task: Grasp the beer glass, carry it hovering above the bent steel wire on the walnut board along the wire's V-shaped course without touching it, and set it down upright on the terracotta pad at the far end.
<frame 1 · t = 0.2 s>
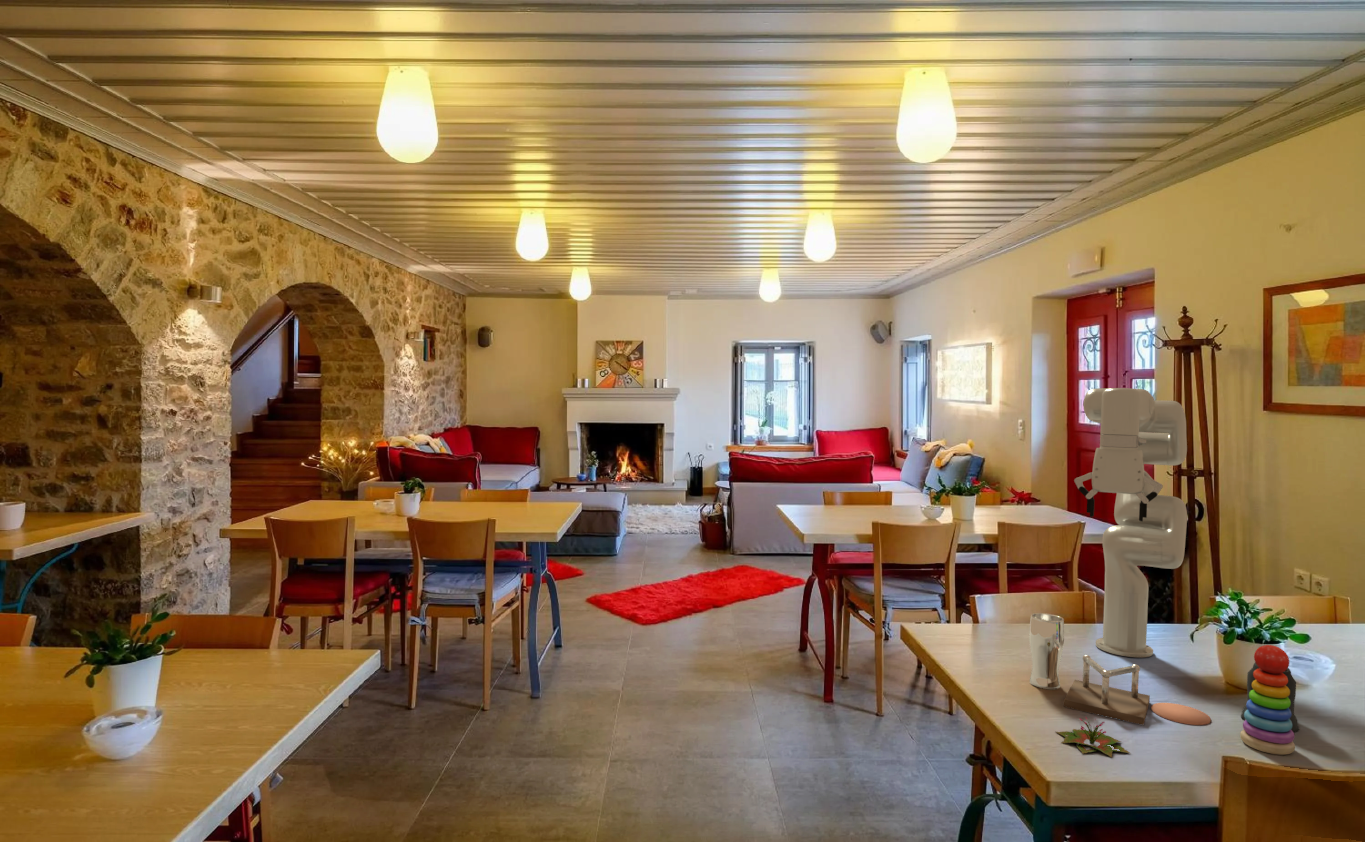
hand: (1115, 518, 170), 36 cm above the table, tool pointing down, fingers open, 9 cm apart
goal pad: (1180, 714, 151), on the table
mug: (1269, 721, 149), on the table
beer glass: (1044, 685, 166), on the table
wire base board: (1107, 703, 156), on the table
bent wire: (1107, 681, 155), on the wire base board, point 5 cm above the table
stacking toy: (1266, 747, 138), on the table
lily flower: (1091, 746, 137), on the table
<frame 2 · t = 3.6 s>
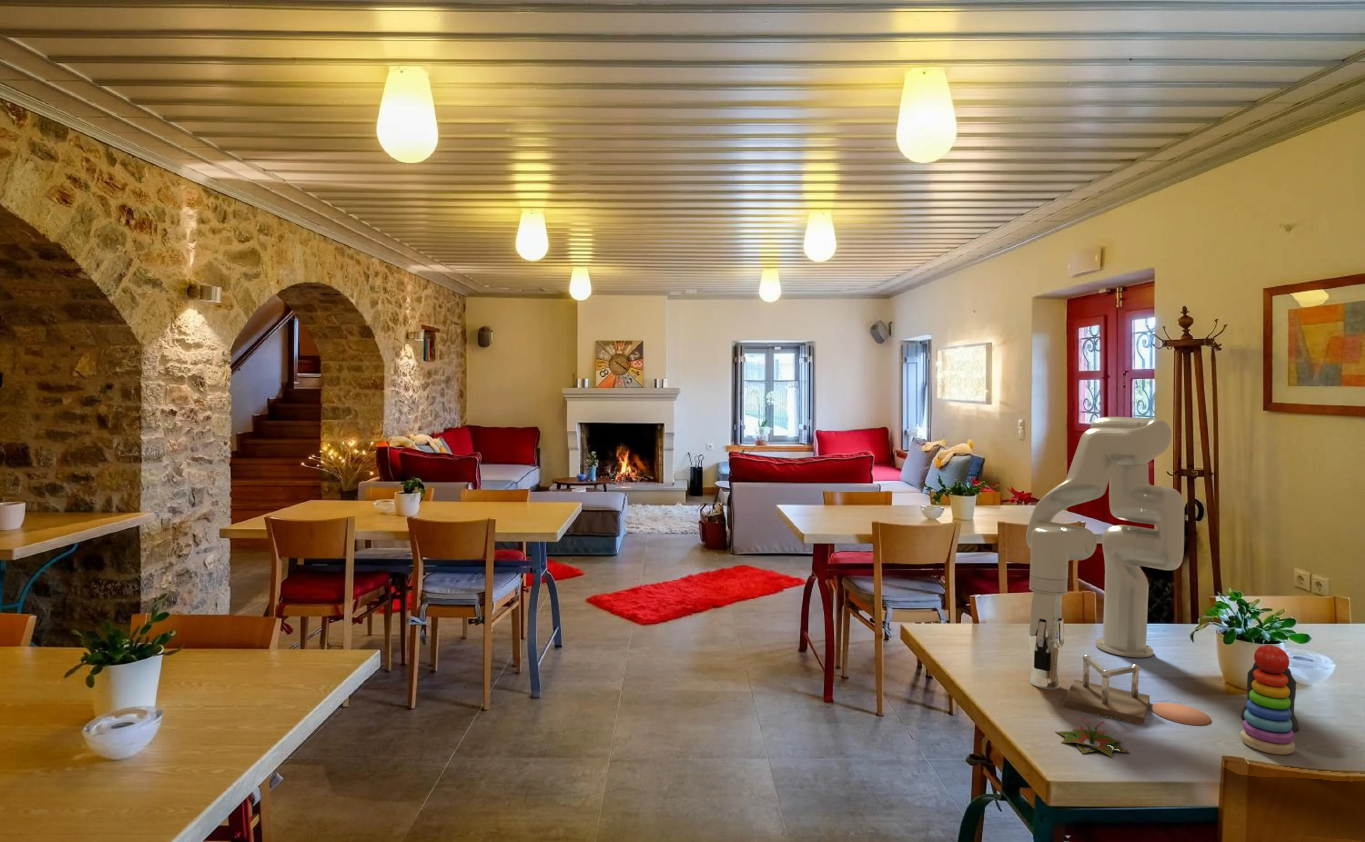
hand: (1045, 664, 166), 4 cm above the table, tool pointing down, fingers closed on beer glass, 6 cm apart
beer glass: (1044, 685, 166), on the table, touching gripper
everything else where it was.
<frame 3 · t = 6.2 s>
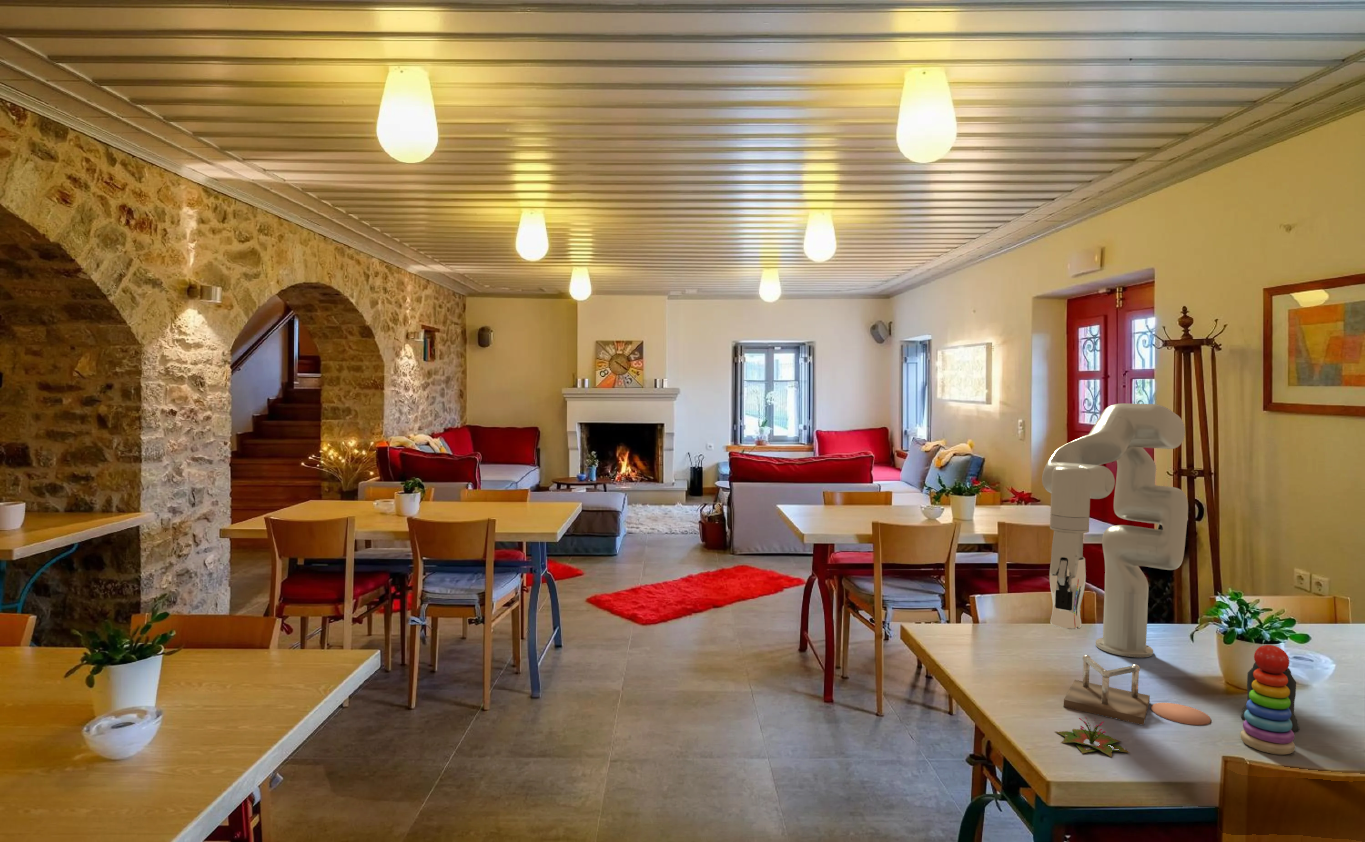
hand: (1066, 604, 163), 18 cm above the table, tool pointing down, fingers closed on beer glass, 6 cm apart
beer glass: (1065, 626, 163), point 14 cm above the table, touching gripper
everything else where it was.
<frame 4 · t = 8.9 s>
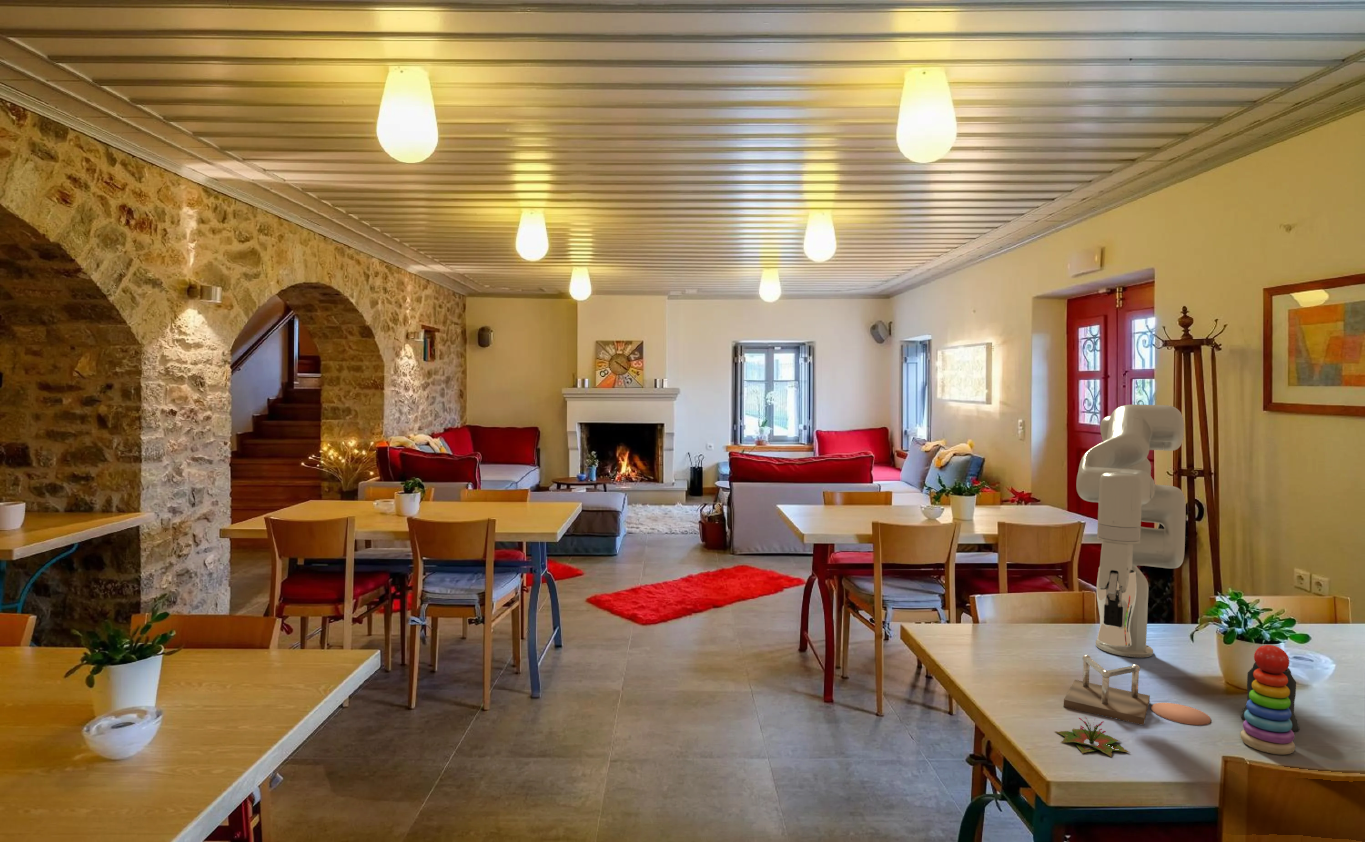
hand: (1115, 620, 152), 18 cm above the table, tool pointing down, fingers closed on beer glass, 6 cm apart
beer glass: (1114, 643, 153), point 14 cm above the table, touching gripper
everything else where it was.
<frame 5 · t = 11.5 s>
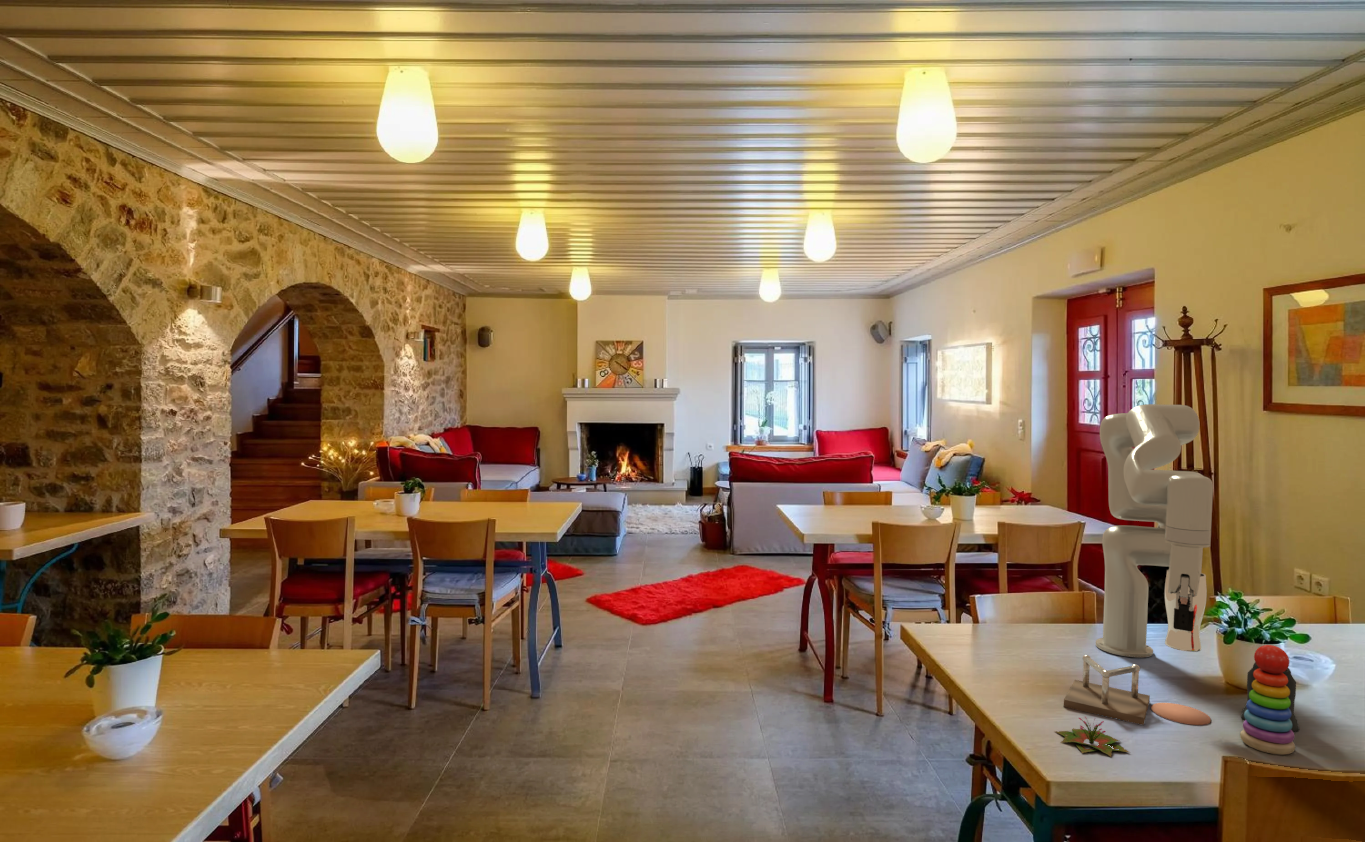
hand: (1183, 624, 151), 18 cm above the table, tool pointing down, fingers closed on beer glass, 6 cm apart
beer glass: (1182, 647, 151), point 13 cm above the table, touching gripper
everything else where it was.
when the fingers open (6 cm above the table, at t = 14.1 s): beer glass drops 1 cm, resting on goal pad.
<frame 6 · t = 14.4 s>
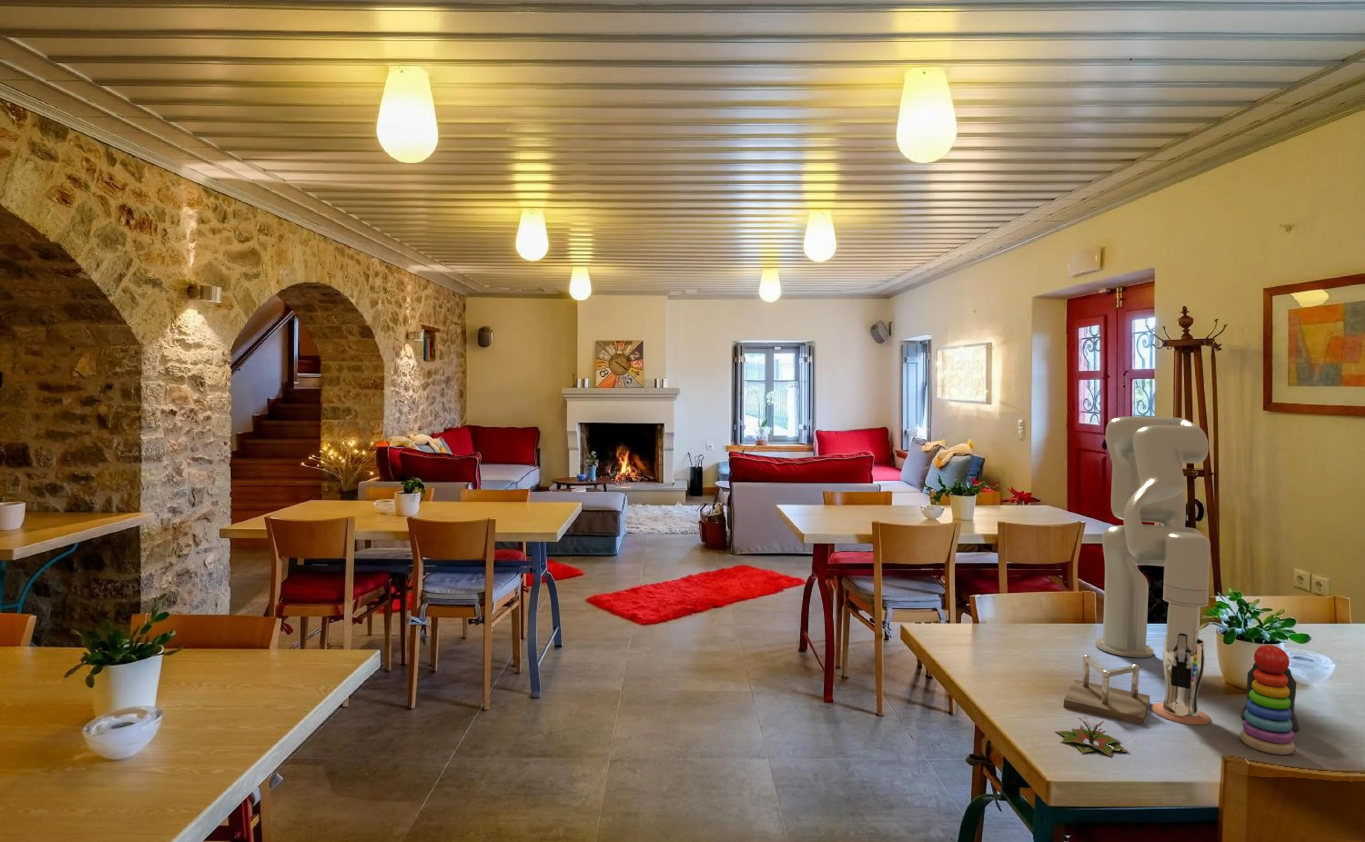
hand: (1181, 679, 151), 7 cm above the table, tool pointing down, fingers open, 9 cm apart
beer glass: (1180, 713, 151), resting on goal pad
everything else where it was.
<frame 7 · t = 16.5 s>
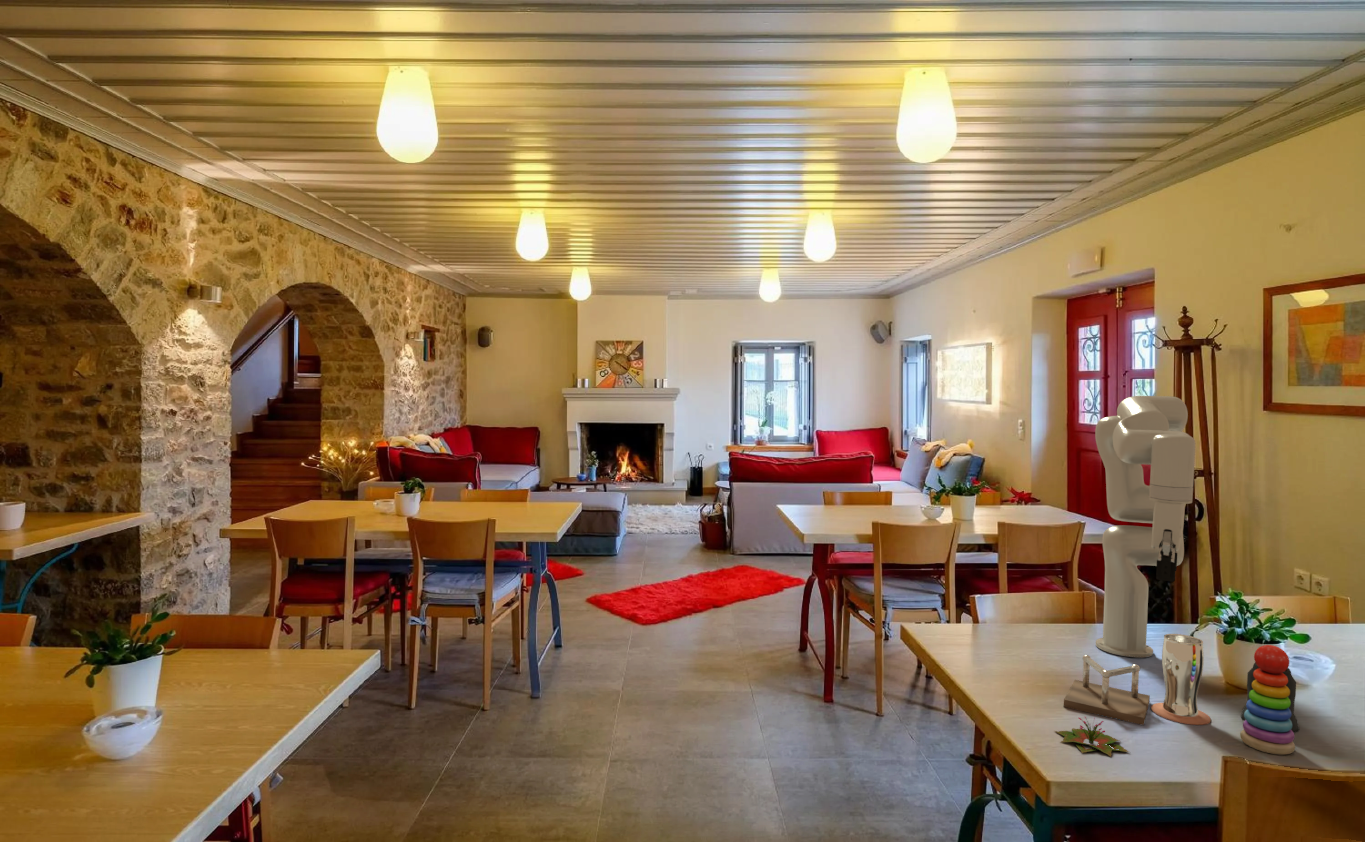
hand: (1166, 575, 156), 27 cm above the table, tool pointing down, fingers open, 9 cm apart
nothing on the table moved.
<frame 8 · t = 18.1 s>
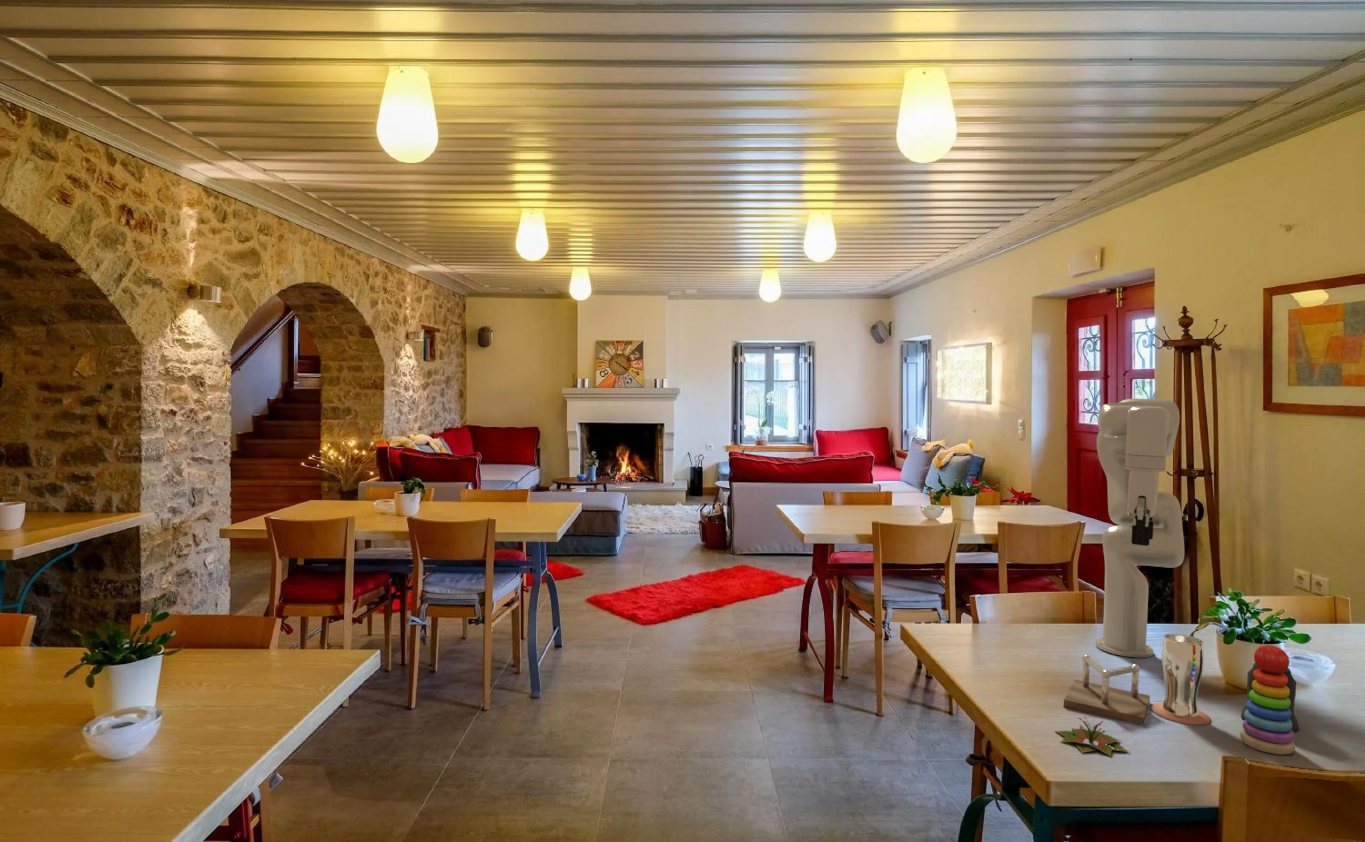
hand: (1142, 541, 164), 32 cm above the table, tool pointing down, fingers open, 9 cm apart
nothing on the table moved.
at the end: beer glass 0.2 cm off-centre on the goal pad, point 0.1 cm above the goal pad's base; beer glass tilted 0°; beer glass touching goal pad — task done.
